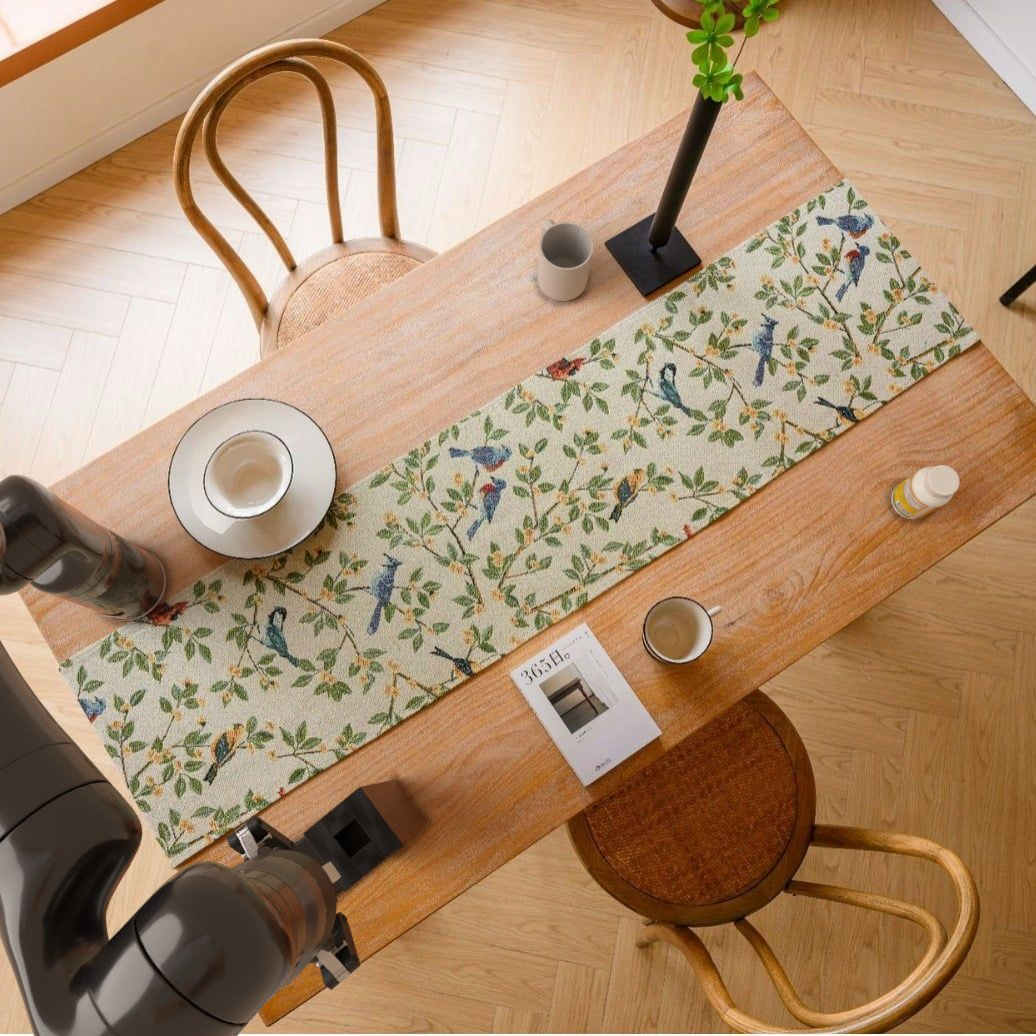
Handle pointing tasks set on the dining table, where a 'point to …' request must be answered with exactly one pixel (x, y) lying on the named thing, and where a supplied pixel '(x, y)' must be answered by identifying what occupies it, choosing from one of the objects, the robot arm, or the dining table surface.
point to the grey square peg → (331, 872)
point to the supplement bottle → (925, 491)
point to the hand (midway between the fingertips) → (316, 882)
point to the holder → (365, 829)
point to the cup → (563, 259)
